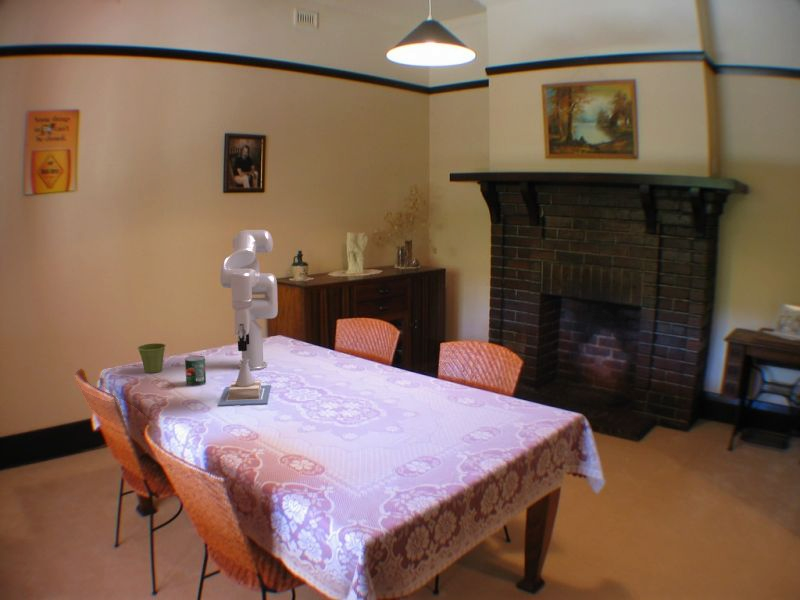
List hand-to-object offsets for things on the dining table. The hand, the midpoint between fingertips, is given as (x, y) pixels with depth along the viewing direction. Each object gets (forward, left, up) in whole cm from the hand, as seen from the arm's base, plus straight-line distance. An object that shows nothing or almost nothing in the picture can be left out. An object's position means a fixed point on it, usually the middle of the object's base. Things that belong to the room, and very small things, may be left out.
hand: (243, 347), depth 250 cm
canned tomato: (-19, -22, -20) cm, 35 cm away
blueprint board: (0, 0, -19) cm, 19 cm away
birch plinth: (0, 0, -19) cm, 19 cm away
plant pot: (-40, -44, -20) cm, 62 cm away
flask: (0, 0, -15) cm, 15 cm away
